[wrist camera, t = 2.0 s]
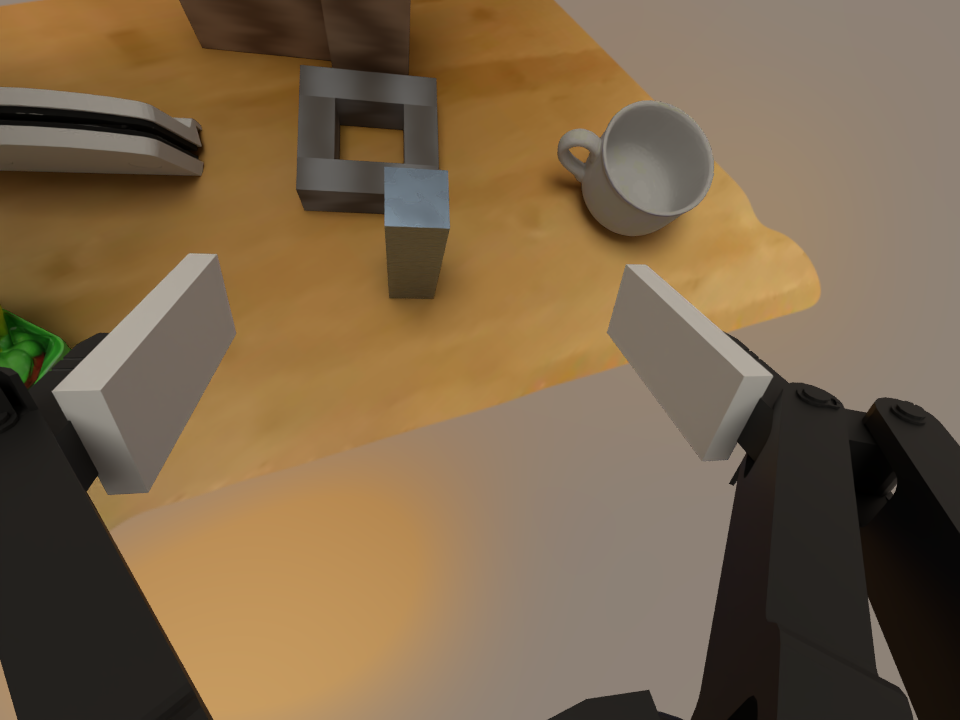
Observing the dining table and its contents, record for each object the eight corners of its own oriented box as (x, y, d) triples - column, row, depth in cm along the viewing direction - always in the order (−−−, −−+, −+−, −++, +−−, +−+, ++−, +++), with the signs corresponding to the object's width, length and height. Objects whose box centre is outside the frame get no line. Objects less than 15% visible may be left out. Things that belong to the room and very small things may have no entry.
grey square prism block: (389, 298, 42) (384, 226, 28) (388, 256, 42) (384, 166, 29) (433, 298, 42) (449, 228, 29) (432, 257, 43) (447, 170, 30)
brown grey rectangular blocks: (190, 205, 40) (-5, -22, 21) (205, 2, 44) (53, -349, 25) (436, 216, 44) (466, 33, 25) (431, 29, 48) (453, -257, 28)
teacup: (677, 181, 50) (729, 132, 42) (650, 267, 47) (700, 231, 39) (561, 125, 48) (592, 64, 41) (526, 210, 46) (553, 162, 38)
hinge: (205, 125, 42) (149, 76, 32) (211, 180, 42) (158, 149, 33) (-12, 115, 39) (-146, 58, 29) (-1, 174, 39) (-129, 138, 30)
